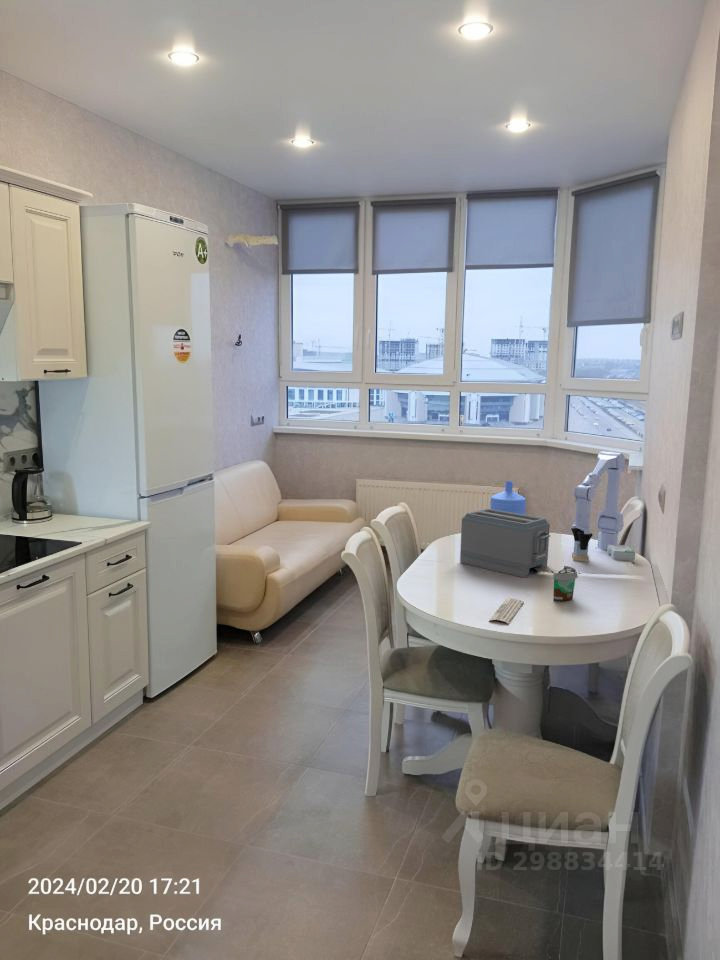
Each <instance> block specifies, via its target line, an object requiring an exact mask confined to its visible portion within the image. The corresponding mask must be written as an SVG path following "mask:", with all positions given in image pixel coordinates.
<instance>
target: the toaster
mask: <svg viewBox="0 0 720 960" xmlns="http://www.w3.org/2000/svg"><path fill="white" fill-rule="evenodd" d="M550 525H551V524H550V523H549V522H548V520H546V518H544V517H538V516H532V515H526V514H525V515H522V514H516V513H510V512H504V511H499V510H493V509H490V508H484V509H480V510H475V511H471V512H467V513H466V514H465V515H464V516H463V517H462V518H461V528H460V529H461V532H460V554H459V563H461V564H465V565H469V566H473V567H476V566H477V568H480V567H481V568H480V569H485V570H488V571H493V572H497V573H501V574H506V575H511V576H515V577H517V578H518V577H519V578H521V579H522V578H527V577H528V575H529V574H530V569H535V570H536V569H537V568H542V569H543V568H546V567H548V557H549V546H550V545H549V543H550V537H551V535H550V528H551V527H550Z"/></svg>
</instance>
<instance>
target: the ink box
mask: <svg viewBox="0 0 720 960" xmlns="http://www.w3.org/2000/svg"><path fill="white" fill-rule="evenodd" d="M606 551H607V554H608V555H609V556H610V557H611V559H612V560H619V561H623V560H624V561H629V563H631V564H634V563H635V558H636V551H634V549H633V548H631V547H630V546H629V545H627V544H617V545H611V544H610V545H609V544H608V548H607V550H606Z"/></svg>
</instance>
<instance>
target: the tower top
mask: <svg viewBox="0 0 720 960" xmlns="http://www.w3.org/2000/svg"><path fill="white" fill-rule="evenodd" d="M571 558H572V560H573V561H576V562H589V561H590V560H589V559H590V555H589V554H588V555H587V556H576V555H575V554H574V551H573V552H571Z"/></svg>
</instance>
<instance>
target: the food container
mask: <svg viewBox="0 0 720 960" xmlns="http://www.w3.org/2000/svg"><path fill="white" fill-rule="evenodd" d="M576 579H578V572H577V569H576V568H574V567H571V566H567V565H563V569H561V570H559V571H558V572H554V573H553V598H552V599H553V602H557V603H559V602H561V603H563V602H564V603H565V602H571V601H573V598H574V589H575V585H576Z"/></svg>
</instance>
